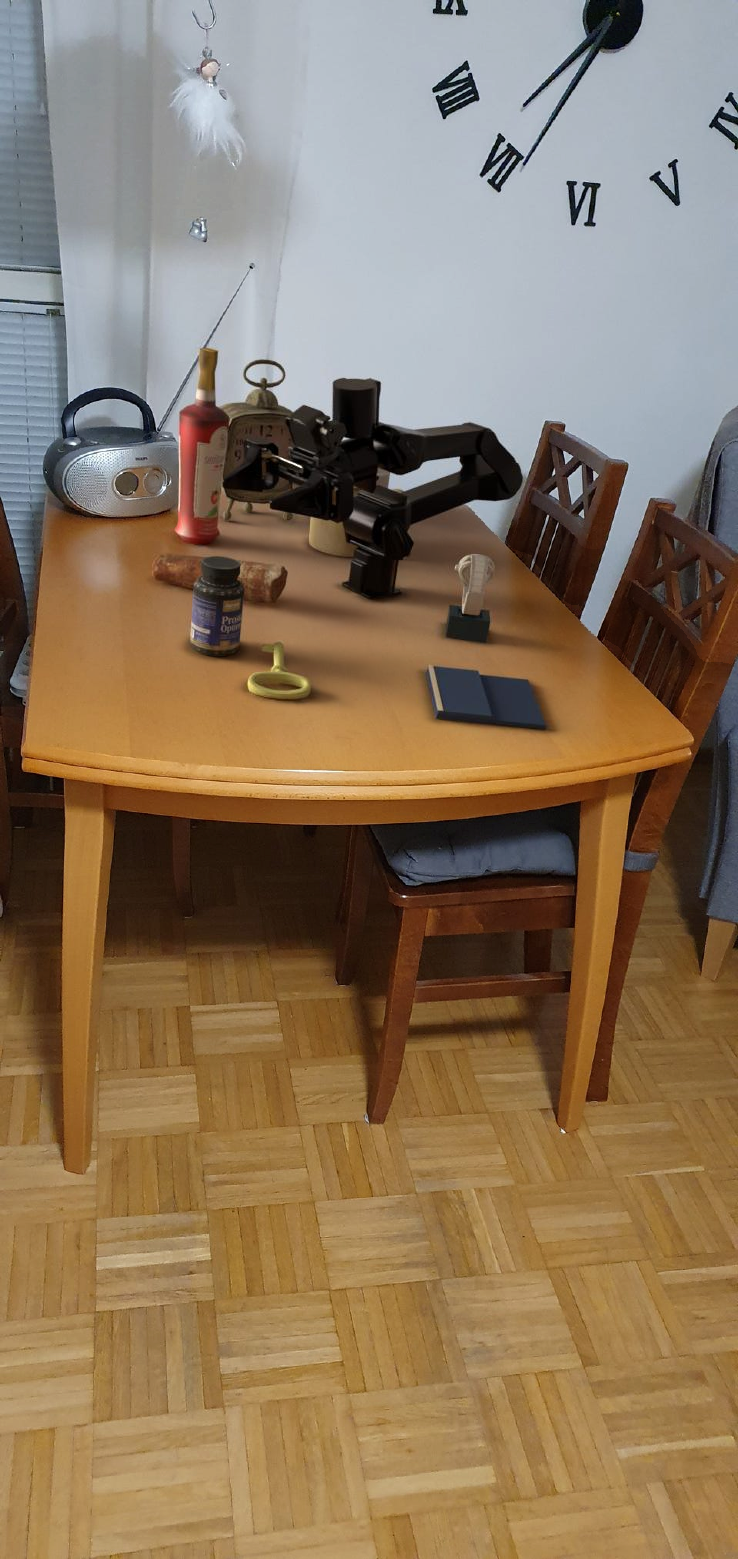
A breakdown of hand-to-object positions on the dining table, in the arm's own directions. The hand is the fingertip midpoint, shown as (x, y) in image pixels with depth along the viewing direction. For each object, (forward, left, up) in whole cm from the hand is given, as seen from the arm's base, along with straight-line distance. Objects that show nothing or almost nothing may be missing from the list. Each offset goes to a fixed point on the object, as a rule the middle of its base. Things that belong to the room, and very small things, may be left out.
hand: (246, 494), depth 148 cm
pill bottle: (+8, +6, -17) cm, 20 cm away
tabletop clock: (-30, -36, -17) cm, 50 cm away
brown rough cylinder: (-3, -9, -17) cm, 20 cm away
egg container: (-52, -34, -9) cm, 63 cm away
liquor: (-14, -29, -17) cm, 37 cm away
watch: (-26, +17, -17) cm, 36 cm away
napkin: (-12, +33, -17) cm, 39 cm away
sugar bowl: (-36, -17, -17) cm, 44 cm away
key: (+7, +17, -17) cm, 25 cm away
